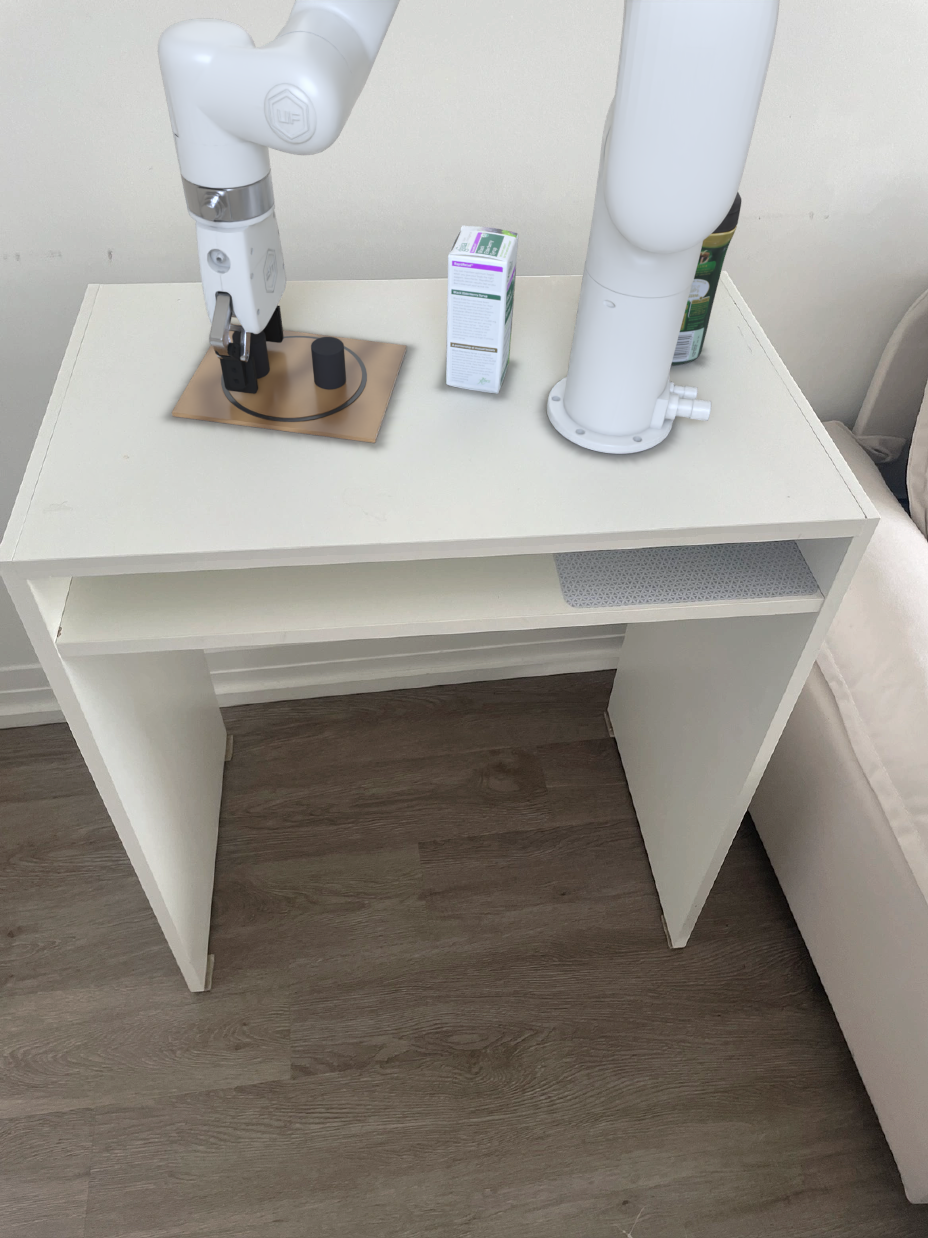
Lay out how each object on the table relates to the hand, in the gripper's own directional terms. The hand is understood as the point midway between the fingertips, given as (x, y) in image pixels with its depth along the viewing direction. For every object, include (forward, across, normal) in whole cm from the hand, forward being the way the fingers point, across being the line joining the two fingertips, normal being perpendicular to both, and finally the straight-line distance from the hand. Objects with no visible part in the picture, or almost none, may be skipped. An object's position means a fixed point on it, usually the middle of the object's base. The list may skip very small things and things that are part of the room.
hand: (255, 363), depth 91 cm
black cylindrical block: (+1, 0, -8) cm, 8 cm away
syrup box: (+2, +5, -22) cm, 23 cm away
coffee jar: (+2, +15, -41) cm, 44 cm away
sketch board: (+1, 0, -4) cm, 4 cm away
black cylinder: (+1, 0, 0) cm, 1 cm away
